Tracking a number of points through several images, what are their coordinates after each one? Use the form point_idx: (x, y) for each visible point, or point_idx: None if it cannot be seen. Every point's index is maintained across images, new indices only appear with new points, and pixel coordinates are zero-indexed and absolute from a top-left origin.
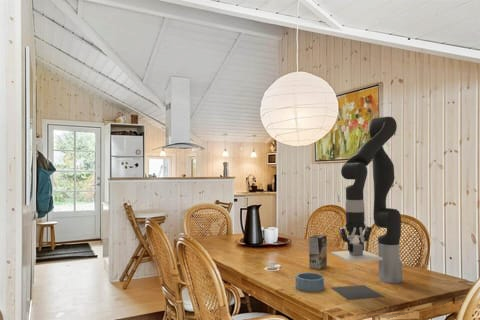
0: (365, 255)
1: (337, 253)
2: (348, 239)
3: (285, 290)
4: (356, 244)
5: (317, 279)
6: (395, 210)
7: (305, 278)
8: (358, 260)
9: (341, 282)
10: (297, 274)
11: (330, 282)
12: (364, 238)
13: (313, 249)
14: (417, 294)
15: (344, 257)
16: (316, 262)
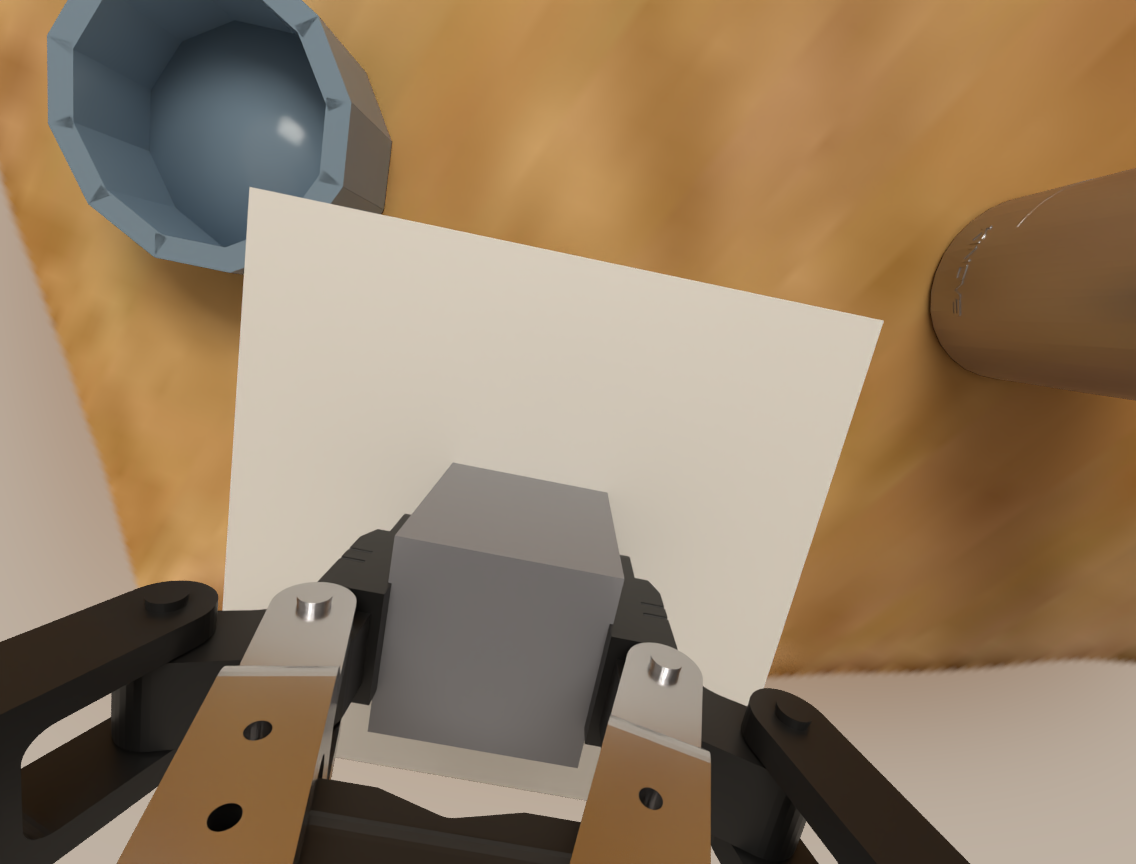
0: None
1: (292, 342)
2: (282, 657)
3: (34, 116)
4: (461, 711)
5: (224, 252)
6: None
7: (238, 6)
8: (374, 749)
9: (619, 130)
10: None
11: (527, 82)
12: (724, 821)
13: None
14: (900, 610)
15: (249, 607)
16: None
